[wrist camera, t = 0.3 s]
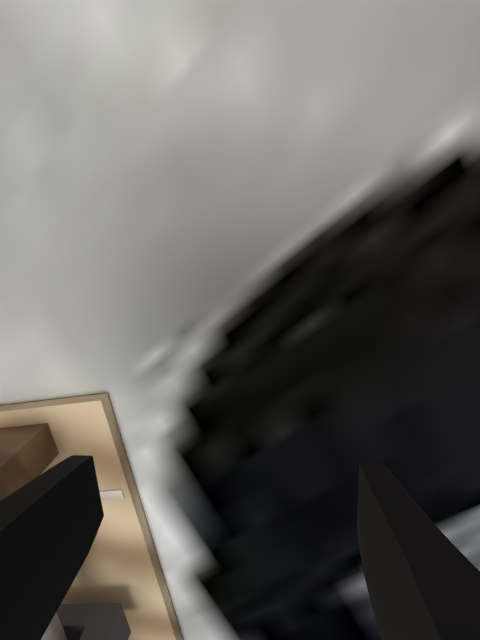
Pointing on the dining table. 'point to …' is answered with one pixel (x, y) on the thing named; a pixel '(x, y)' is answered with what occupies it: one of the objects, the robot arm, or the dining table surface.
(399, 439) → the dining table surface
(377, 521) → the robot arm
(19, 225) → the dining table surface
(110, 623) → the charcoal rectangular prism
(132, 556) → the pipe stand
